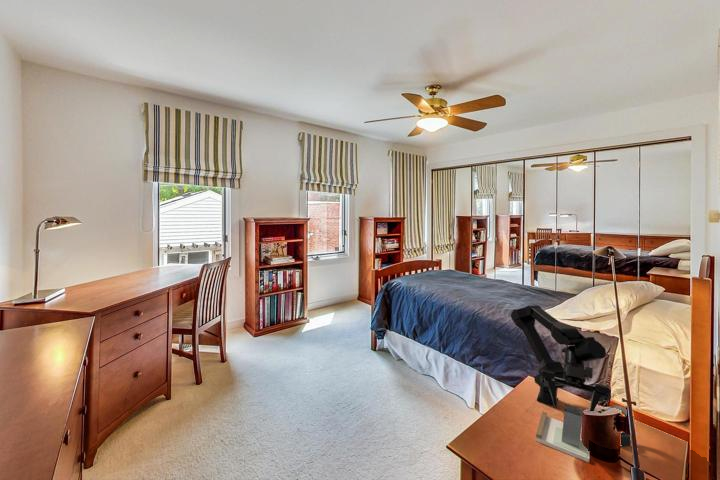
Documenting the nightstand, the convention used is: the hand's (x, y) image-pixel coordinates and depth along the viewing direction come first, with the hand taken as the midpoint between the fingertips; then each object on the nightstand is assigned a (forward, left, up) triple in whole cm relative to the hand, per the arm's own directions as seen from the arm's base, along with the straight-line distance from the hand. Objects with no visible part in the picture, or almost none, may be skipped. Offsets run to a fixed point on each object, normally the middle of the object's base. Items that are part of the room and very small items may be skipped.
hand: (572, 411), depth 97 cm
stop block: (+1, 0, -9) cm, 9 cm away
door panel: (-1, -2, -10) cm, 10 cm away
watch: (-11, +12, -10) cm, 19 cm away
